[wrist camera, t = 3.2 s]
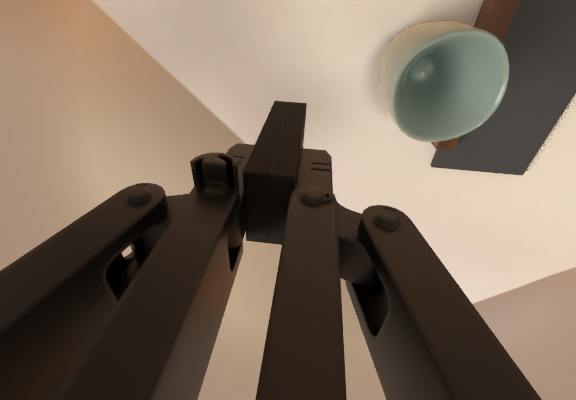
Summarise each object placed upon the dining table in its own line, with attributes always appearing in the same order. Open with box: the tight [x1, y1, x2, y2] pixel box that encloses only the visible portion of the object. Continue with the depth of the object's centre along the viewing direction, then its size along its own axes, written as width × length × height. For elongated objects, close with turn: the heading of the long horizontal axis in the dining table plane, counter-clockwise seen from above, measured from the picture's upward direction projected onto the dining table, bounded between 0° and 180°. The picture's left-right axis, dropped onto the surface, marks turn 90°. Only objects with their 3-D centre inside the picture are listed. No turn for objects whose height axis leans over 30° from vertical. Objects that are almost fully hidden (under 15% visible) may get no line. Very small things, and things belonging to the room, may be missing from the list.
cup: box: [378, 21, 510, 142], centre depth 24 cm, size 8×8×10 cm
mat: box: [431, 0, 576, 175], centre depth 27 cm, size 10×22×1 cm, turn 177°
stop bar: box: [432, 0, 520, 150], centre depth 27 cm, size 2×16×2 cm, turn 178°
